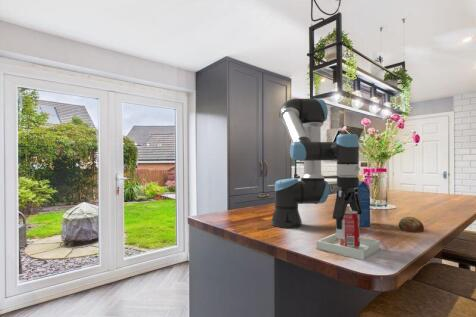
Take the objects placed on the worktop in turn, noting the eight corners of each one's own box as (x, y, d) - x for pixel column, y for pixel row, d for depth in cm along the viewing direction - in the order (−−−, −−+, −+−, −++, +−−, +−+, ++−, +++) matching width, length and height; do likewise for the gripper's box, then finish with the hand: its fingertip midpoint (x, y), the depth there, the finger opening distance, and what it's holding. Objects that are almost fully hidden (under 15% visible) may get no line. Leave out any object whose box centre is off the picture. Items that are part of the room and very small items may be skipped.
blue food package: (356, 226, 137) (356, 175, 137) (351, 221, 149) (351, 174, 149) (370, 227, 135) (370, 176, 136) (364, 222, 147) (364, 174, 148)
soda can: (362, 250, 98) (362, 213, 99) (342, 249, 99) (341, 213, 99) (355, 244, 105) (355, 209, 106) (336, 244, 106) (336, 209, 106)
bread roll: (397, 235, 135) (390, 220, 134) (415, 225, 135) (408, 211, 135) (412, 240, 125) (404, 224, 125) (431, 230, 125) (423, 214, 125)
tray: (316, 249, 101) (316, 241, 101) (336, 240, 113) (336, 232, 113) (363, 260, 90) (363, 251, 90) (380, 248, 101) (380, 240, 102)
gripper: (343, 178, 90) (344, 243, 90) (370, 175, 108) (370, 230, 108) (322, 177, 95) (322, 239, 95) (351, 175, 113) (351, 227, 113)
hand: (348, 234), depth 101 cm, fingers open, 13 cm apart
